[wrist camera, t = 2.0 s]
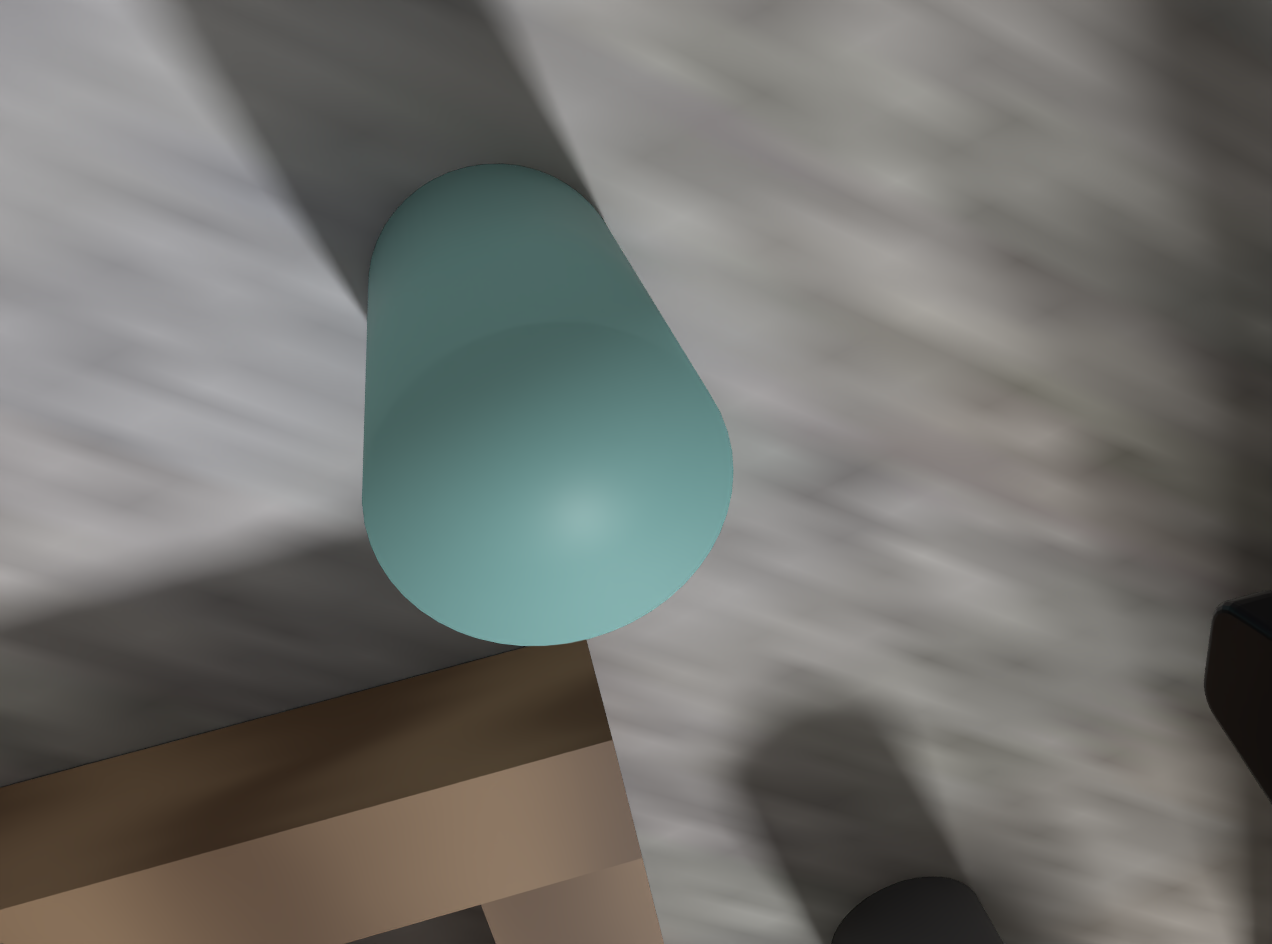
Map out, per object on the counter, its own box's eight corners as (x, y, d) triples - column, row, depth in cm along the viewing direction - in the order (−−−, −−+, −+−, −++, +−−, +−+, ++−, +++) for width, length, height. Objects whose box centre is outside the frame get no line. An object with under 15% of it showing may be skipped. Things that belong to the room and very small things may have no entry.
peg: (597, 137, 16) (707, 280, 11) (640, 373, 18) (753, 595, 13) (333, 197, 16) (309, 376, 11) (409, 430, 18) (421, 684, 13)
